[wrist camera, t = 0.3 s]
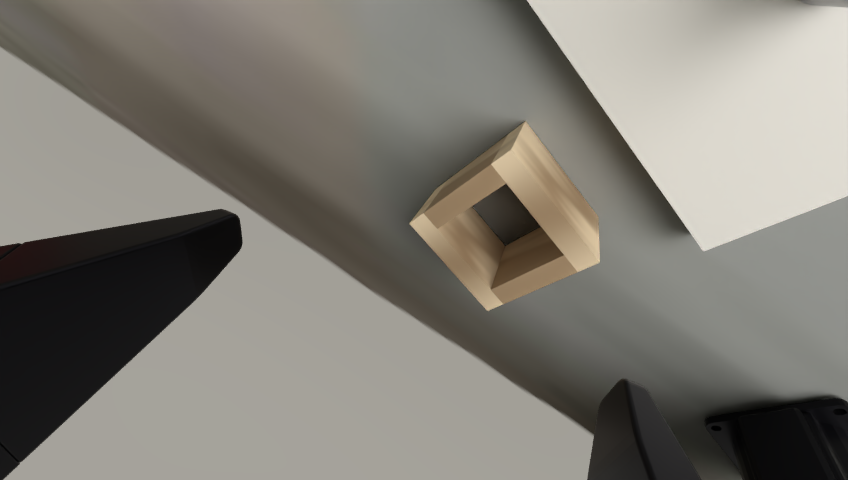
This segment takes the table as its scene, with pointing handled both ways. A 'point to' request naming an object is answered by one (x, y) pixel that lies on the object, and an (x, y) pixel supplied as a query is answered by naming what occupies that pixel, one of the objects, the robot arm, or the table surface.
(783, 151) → the post plate
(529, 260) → the collar
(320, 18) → the table surface
